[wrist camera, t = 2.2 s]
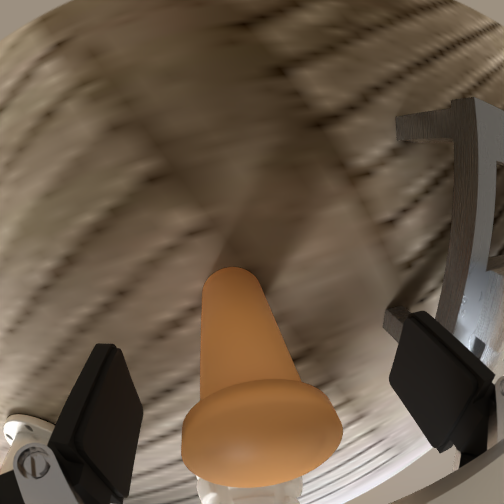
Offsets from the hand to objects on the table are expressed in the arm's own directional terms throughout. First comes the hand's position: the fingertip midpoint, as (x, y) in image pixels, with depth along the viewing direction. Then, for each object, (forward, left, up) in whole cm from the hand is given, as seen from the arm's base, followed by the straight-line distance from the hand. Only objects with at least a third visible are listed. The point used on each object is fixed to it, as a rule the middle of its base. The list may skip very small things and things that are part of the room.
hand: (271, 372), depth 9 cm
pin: (-1, +1, -7) cm, 7 cm away
